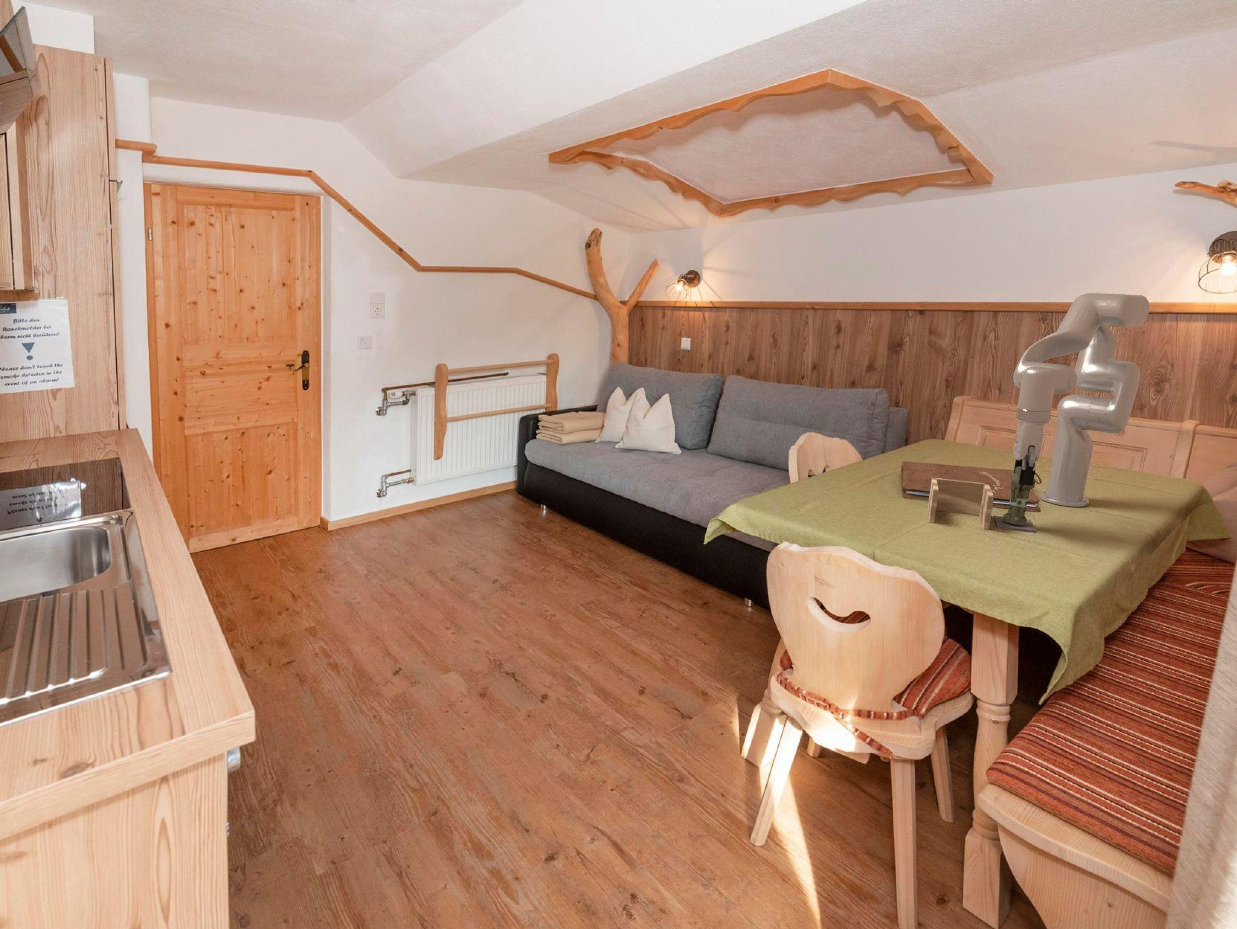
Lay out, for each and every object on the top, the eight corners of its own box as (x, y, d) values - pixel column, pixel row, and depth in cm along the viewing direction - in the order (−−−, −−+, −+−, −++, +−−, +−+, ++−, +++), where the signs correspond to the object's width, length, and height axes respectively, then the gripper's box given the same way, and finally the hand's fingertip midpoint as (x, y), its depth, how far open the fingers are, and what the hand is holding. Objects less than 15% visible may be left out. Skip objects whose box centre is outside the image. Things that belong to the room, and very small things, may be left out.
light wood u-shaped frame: (927, 508, 207) (931, 477, 205) (983, 514, 202) (988, 483, 200) (929, 522, 195) (933, 489, 193) (988, 529, 190) (994, 496, 188)
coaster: (993, 517, 200) (993, 515, 200) (1030, 522, 197) (1030, 520, 197) (997, 527, 192) (997, 525, 192) (1035, 532, 189) (1036, 530, 189)
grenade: (995, 520, 194) (1006, 465, 191) (1007, 518, 198) (1019, 464, 195) (1023, 528, 188) (1035, 472, 185) (1035, 526, 192) (1048, 470, 189)
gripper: (1012, 408, 196) (1003, 469, 201) (1021, 421, 181) (1011, 487, 185) (1043, 410, 194) (1033, 472, 198) (1055, 424, 178) (1044, 490, 183)
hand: (1022, 479), depth 192 cm, fingers open, 9 cm apart
